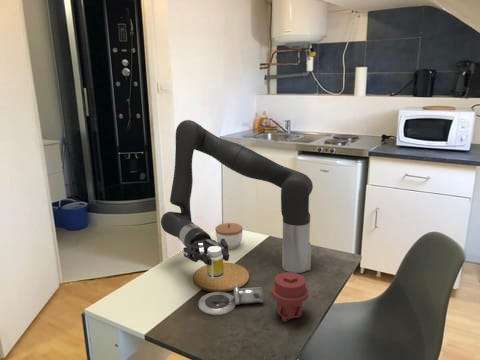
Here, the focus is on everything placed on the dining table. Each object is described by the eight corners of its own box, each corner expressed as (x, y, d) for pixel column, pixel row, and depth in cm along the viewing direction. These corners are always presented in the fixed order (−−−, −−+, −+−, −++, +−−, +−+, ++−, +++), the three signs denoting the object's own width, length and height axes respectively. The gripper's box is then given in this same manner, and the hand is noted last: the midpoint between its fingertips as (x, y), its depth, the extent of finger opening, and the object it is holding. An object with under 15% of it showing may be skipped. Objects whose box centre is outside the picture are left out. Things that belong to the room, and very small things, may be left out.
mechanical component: (271, 304, 114) (306, 306, 113) (271, 325, 104) (308, 327, 103) (272, 266, 111) (307, 267, 110) (271, 284, 101) (310, 286, 100)
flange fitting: (260, 291, 121) (259, 275, 119) (265, 312, 110) (265, 294, 109) (198, 295, 119) (198, 279, 118) (198, 316, 109) (197, 298, 107)
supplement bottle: (225, 272, 114) (225, 246, 111) (219, 280, 109) (219, 253, 107) (210, 270, 115) (210, 244, 113) (204, 278, 111) (203, 251, 109)
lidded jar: (248, 245, 155) (248, 223, 152) (229, 254, 147) (228, 231, 145) (229, 238, 162) (228, 217, 160) (210, 246, 154) (209, 224, 152)
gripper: (172, 232, 118) (194, 253, 104) (214, 223, 125) (241, 242, 111) (174, 254, 120) (196, 278, 106) (215, 244, 127) (241, 266, 113)
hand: (219, 260), depth 109 cm, fingers closed on supplement bottle, 4 cm apart
